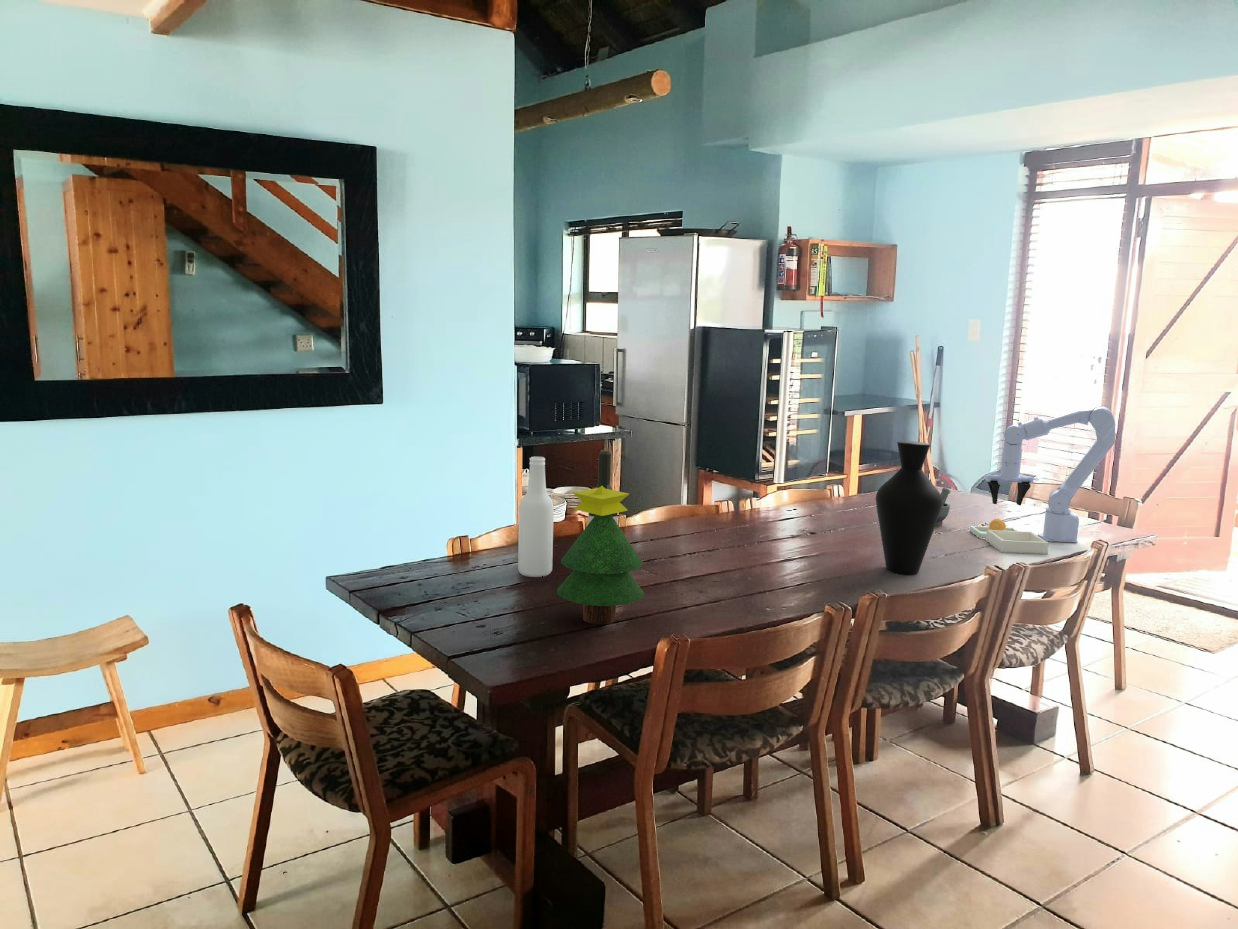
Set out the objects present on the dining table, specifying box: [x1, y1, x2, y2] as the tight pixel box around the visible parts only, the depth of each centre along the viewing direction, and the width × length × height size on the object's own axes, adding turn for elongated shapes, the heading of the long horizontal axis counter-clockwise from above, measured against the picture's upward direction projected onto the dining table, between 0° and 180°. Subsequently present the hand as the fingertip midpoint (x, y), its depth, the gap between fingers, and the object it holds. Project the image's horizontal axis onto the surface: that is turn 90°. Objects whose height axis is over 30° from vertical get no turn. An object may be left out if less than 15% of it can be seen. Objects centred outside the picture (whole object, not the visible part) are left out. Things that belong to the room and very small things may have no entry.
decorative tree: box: [556, 486, 645, 625], centre depth 207 cm, size 19×19×30 cm
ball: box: [988, 518, 1007, 531], centre depth 301 cm, size 5×5×5 cm
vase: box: [875, 440, 942, 576], centre depth 255 cm, size 17×17×35 cm
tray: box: [969, 525, 1019, 540], centre depth 302 cm, size 14×10×2 cm
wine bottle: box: [587, 449, 619, 525], centre depth 256 cm, size 8×8×30 cm
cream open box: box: [985, 530, 1050, 555], centre depth 288 cm, size 14×14×4 cm
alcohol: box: [517, 456, 555, 578], centre depth 241 cm, size 9×9×30 cm
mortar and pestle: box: [935, 487, 951, 527], centre depth 315 cm, size 11×9×12 cm
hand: (1006, 504), depth 305 cm, fingers open, 7 cm apart
